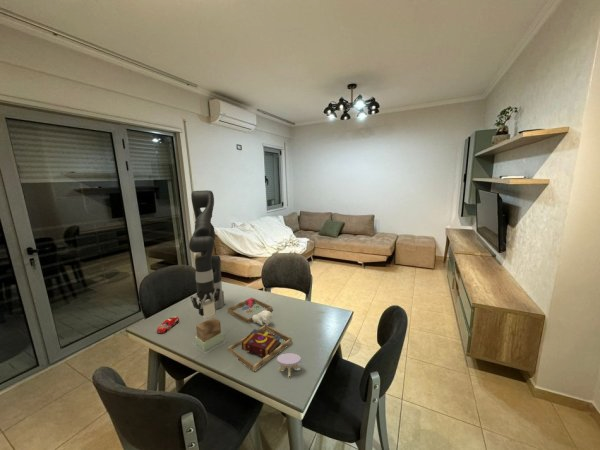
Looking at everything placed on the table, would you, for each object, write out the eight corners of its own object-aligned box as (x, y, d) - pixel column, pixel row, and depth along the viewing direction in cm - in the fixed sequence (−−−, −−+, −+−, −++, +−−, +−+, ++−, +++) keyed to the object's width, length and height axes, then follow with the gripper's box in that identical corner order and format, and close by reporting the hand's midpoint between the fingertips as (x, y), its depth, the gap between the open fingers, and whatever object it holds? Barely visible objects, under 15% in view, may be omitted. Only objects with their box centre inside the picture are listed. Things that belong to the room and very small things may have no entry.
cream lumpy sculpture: (266, 314, 128) (248, 311, 133) (268, 329, 129) (250, 326, 135) (272, 309, 134) (255, 306, 139) (274, 323, 135) (256, 320, 140)
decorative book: (269, 359, 107) (269, 349, 106) (239, 350, 113) (238, 340, 112) (281, 344, 118) (281, 334, 117) (252, 336, 124) (252, 327, 123)
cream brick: (209, 310, 119) (208, 298, 118) (215, 313, 116) (214, 302, 114) (199, 314, 115) (198, 302, 114) (205, 318, 112) (204, 306, 111)
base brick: (214, 334, 124) (214, 327, 123) (223, 340, 119) (223, 333, 118) (195, 344, 117) (195, 336, 116) (204, 351, 112) (203, 343, 111)
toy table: (274, 377, 98) (274, 364, 97) (280, 361, 107) (280, 349, 106) (298, 380, 97) (298, 367, 96) (302, 363, 105) (302, 351, 104)
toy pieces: (238, 306, 154) (238, 300, 154) (255, 302, 160) (254, 295, 160) (245, 315, 144) (245, 308, 144) (262, 309, 150) (262, 303, 150)
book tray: (265, 328, 130) (265, 324, 130) (291, 343, 119) (291, 338, 118) (227, 352, 112) (227, 347, 112) (254, 372, 101) (253, 366, 100)
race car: (163, 335, 126) (162, 328, 125) (154, 334, 127) (153, 327, 126) (181, 321, 138) (180, 314, 138) (173, 320, 140) (172, 313, 139)
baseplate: (214, 333, 126) (214, 331, 126) (227, 343, 119) (227, 341, 119) (191, 345, 117) (191, 343, 117) (204, 356, 110) (204, 354, 110)
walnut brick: (214, 328, 122) (213, 317, 121) (220, 332, 119) (220, 321, 118) (197, 337, 116) (196, 325, 114) (203, 342, 112) (202, 330, 111)
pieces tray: (251, 300, 161) (251, 297, 161) (272, 310, 149) (272, 306, 148) (227, 312, 147) (227, 308, 147) (248, 324, 135) (248, 320, 134)
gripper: (193, 286, 104) (196, 322, 107) (223, 276, 115) (225, 309, 118) (185, 281, 109) (188, 316, 112) (214, 272, 120) (216, 304, 123)
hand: (207, 312), depth 115 cm, fingers closed on cream brick, 5 cm apart
